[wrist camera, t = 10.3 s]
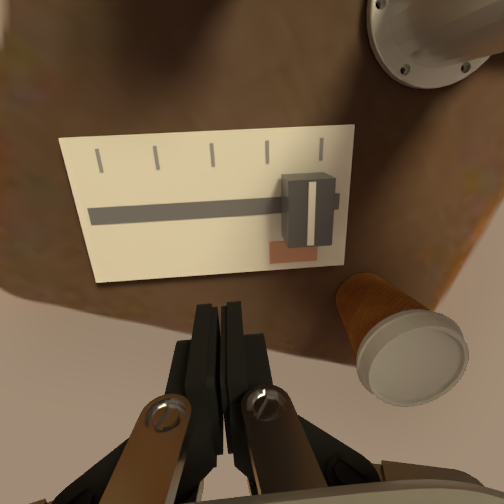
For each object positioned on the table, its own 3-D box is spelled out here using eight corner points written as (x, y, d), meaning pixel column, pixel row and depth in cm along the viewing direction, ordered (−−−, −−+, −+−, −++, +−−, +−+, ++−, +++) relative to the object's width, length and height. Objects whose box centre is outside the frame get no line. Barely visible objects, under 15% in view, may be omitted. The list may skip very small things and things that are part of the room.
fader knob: (323, 172, 29) (336, 178, 26) (320, 232, 32) (332, 245, 28) (281, 174, 29) (288, 181, 26) (281, 235, 31) (288, 249, 28)
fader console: (348, 124, 30) (355, 124, 28) (339, 259, 35) (344, 265, 34) (66, 137, 28) (57, 138, 27) (101, 276, 34) (95, 283, 32)
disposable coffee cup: (338, 251, 35) (391, 311, 24) (413, 268, 36) (496, 331, 25) (310, 322, 38) (346, 403, 27) (381, 334, 40) (441, 416, 29)
